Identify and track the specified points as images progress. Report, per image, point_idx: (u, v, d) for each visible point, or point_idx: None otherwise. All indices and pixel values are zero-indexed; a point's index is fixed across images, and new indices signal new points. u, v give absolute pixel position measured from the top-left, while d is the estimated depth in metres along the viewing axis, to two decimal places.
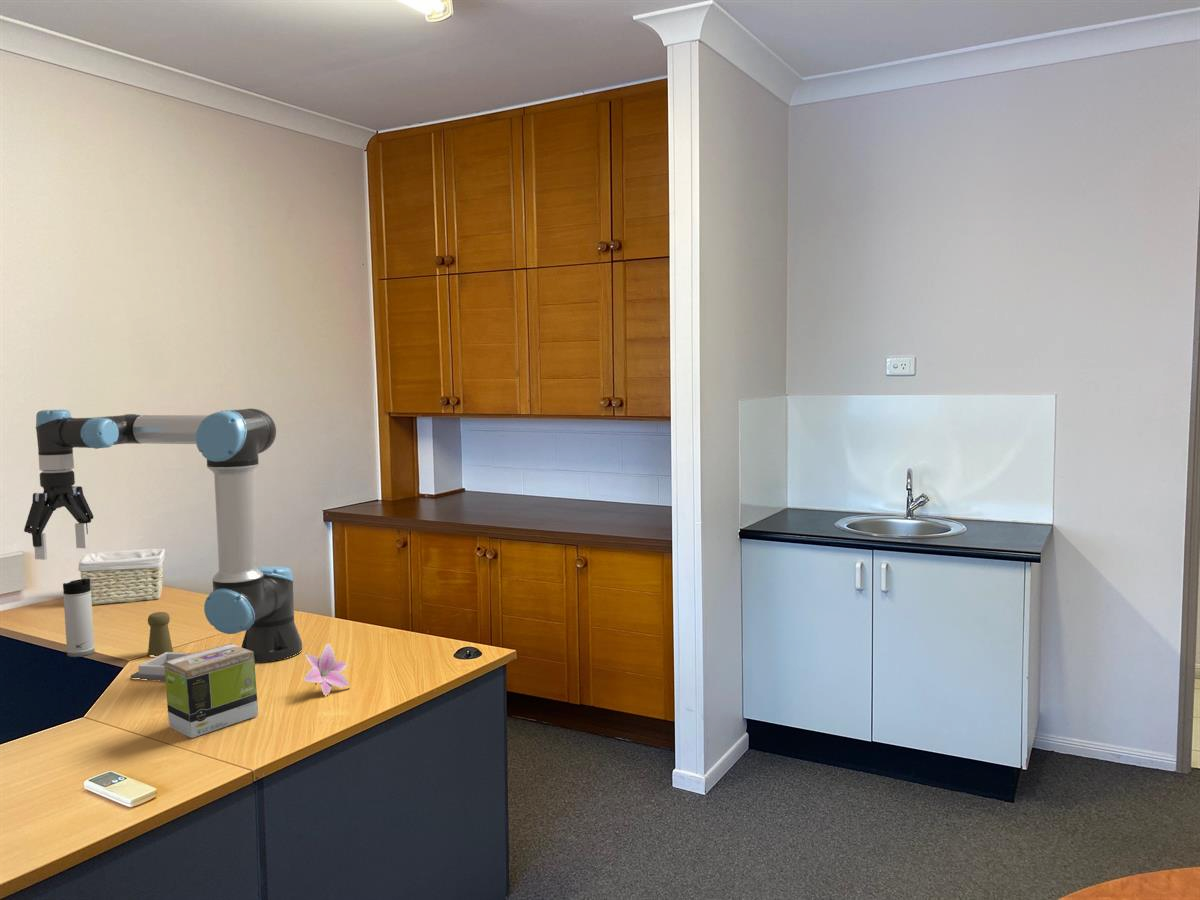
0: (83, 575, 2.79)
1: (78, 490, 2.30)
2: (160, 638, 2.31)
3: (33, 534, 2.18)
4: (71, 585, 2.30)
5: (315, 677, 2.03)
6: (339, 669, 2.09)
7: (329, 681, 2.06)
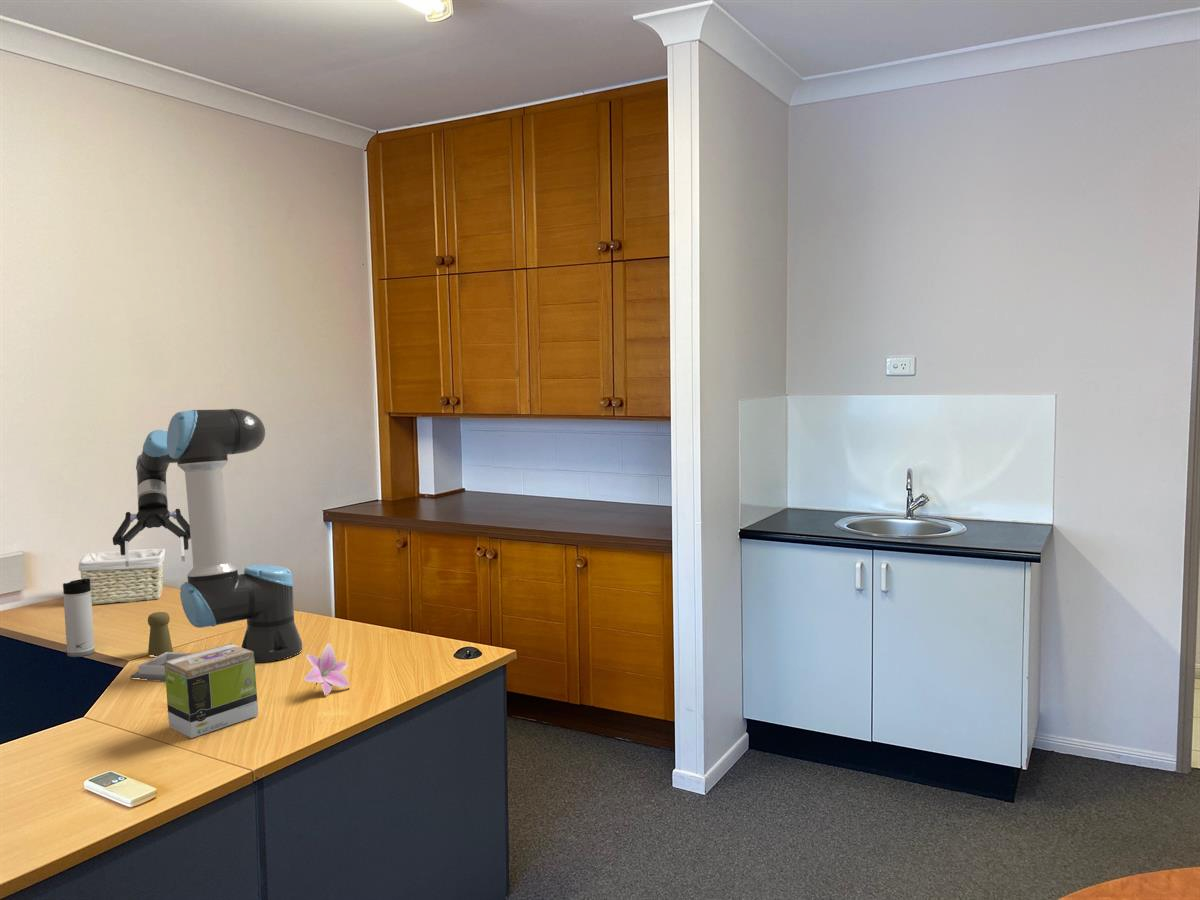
0: (83, 575, 2.79)
1: (175, 511, 2.51)
2: (160, 638, 2.31)
3: (120, 545, 2.41)
4: (71, 585, 2.30)
5: (316, 677, 2.03)
6: (340, 669, 2.09)
7: (329, 681, 2.06)
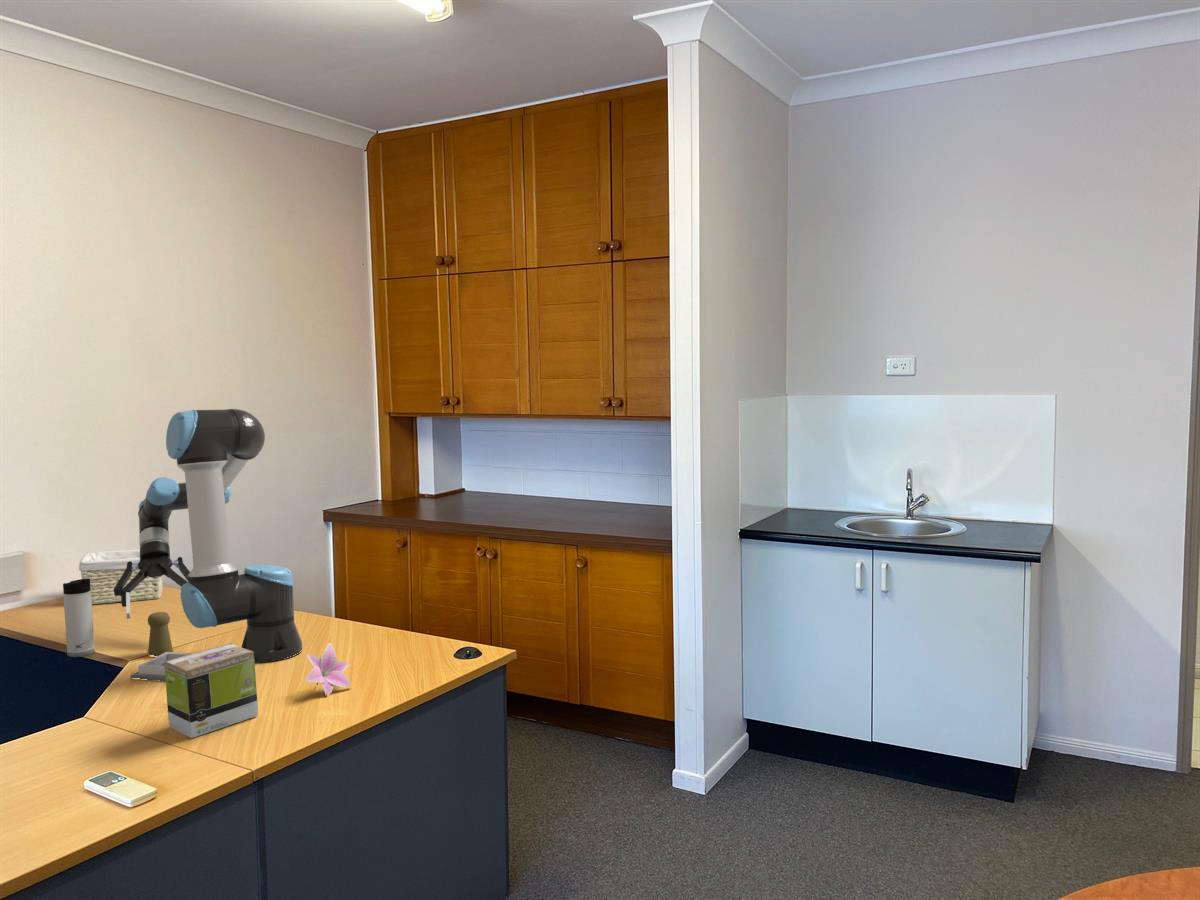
0: (84, 575, 2.79)
1: (177, 560, 2.48)
2: (160, 638, 2.31)
3: (121, 596, 2.37)
4: (71, 585, 2.30)
5: (317, 677, 2.03)
6: (340, 669, 2.09)
7: (330, 681, 2.06)
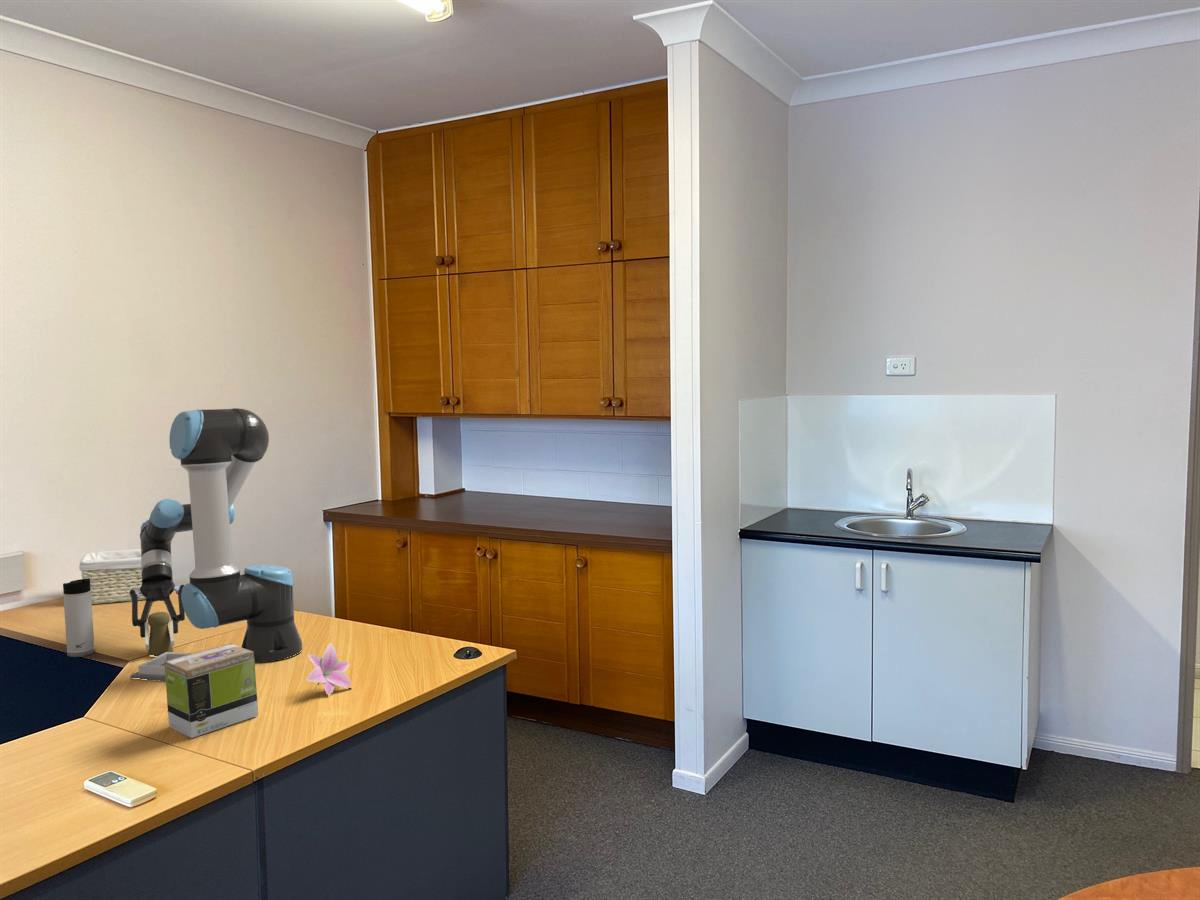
0: (84, 574, 2.80)
1: (179, 587, 2.41)
2: (160, 638, 2.31)
3: (139, 626, 2.32)
4: (71, 585, 2.30)
5: (318, 677, 2.03)
6: (341, 669, 2.09)
7: (332, 681, 2.06)
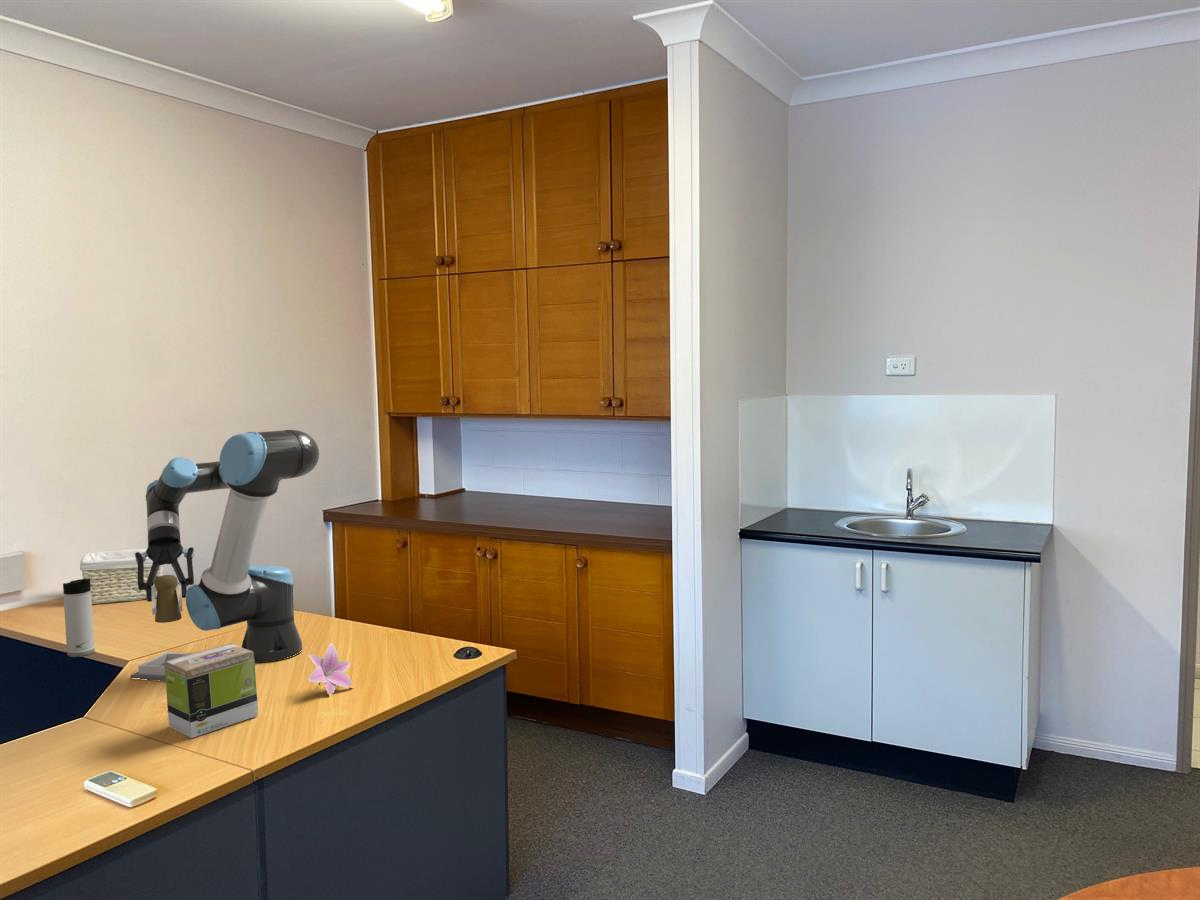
0: (85, 574, 2.80)
1: (188, 550, 2.27)
2: (168, 602, 2.17)
3: (146, 590, 2.18)
4: (71, 585, 2.30)
5: (320, 677, 2.03)
6: (342, 669, 2.09)
7: (333, 681, 2.06)
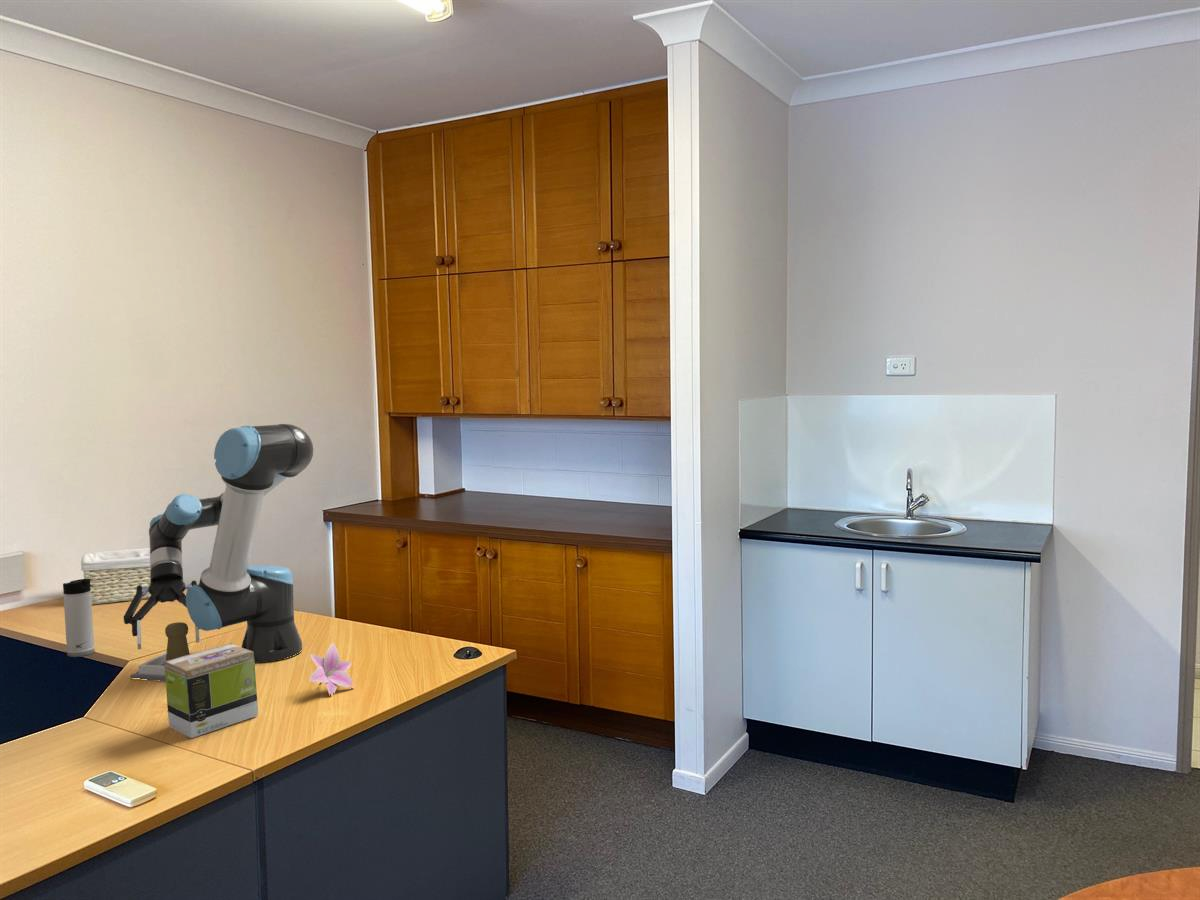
0: (86, 575, 2.79)
1: (191, 584, 2.28)
2: (178, 650, 2.18)
3: (131, 624, 2.17)
4: (71, 585, 2.30)
5: (321, 677, 2.03)
6: (343, 669, 2.09)
7: (334, 681, 2.06)
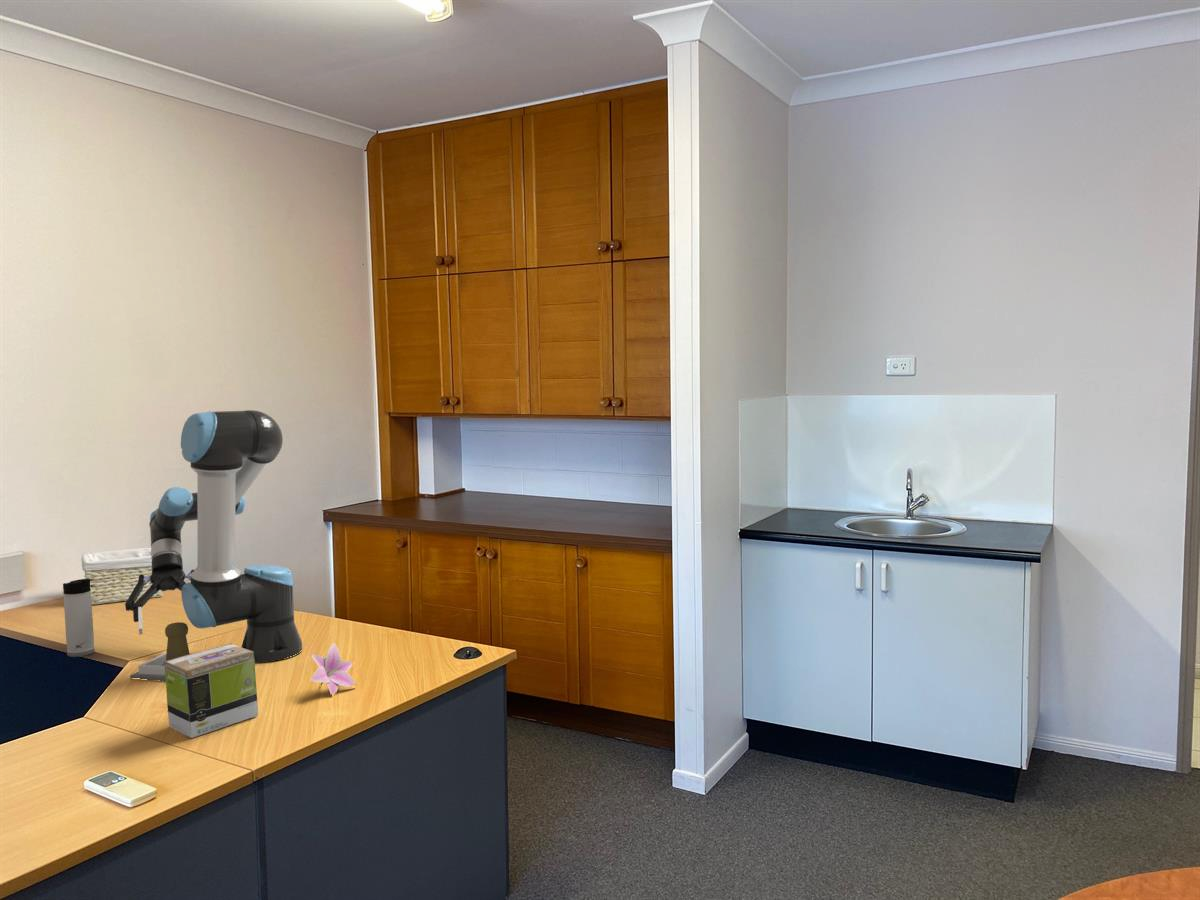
0: (88, 575, 2.79)
1: (191, 573, 2.39)
2: (178, 650, 2.18)
3: (133, 610, 2.29)
4: (71, 585, 2.30)
5: (322, 677, 2.03)
6: (345, 669, 2.09)
7: (335, 681, 2.06)
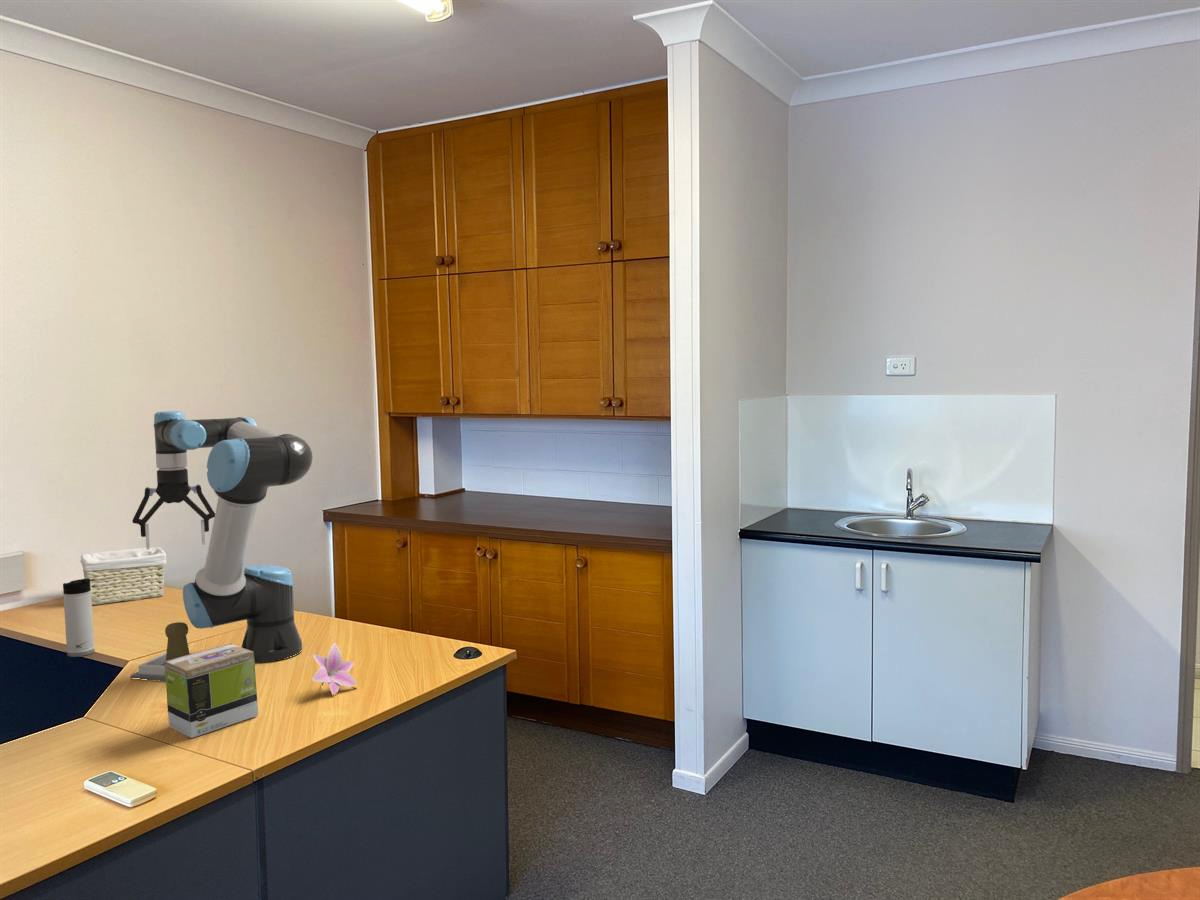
0: (89, 575, 2.79)
1: (196, 488, 2.41)
2: (178, 650, 2.18)
3: (140, 524, 2.37)
4: (71, 585, 2.30)
5: (324, 677, 2.03)
6: (346, 669, 2.09)
7: (336, 681, 2.06)
